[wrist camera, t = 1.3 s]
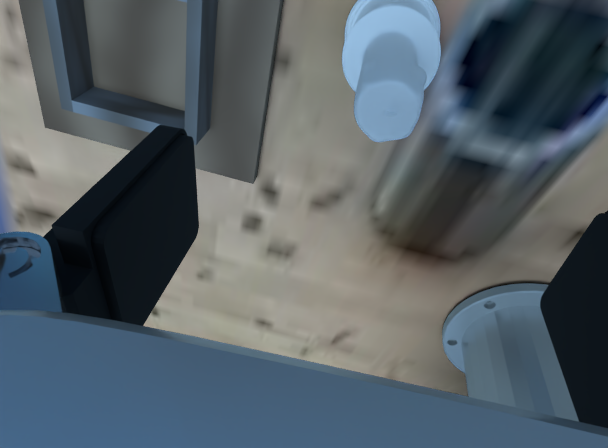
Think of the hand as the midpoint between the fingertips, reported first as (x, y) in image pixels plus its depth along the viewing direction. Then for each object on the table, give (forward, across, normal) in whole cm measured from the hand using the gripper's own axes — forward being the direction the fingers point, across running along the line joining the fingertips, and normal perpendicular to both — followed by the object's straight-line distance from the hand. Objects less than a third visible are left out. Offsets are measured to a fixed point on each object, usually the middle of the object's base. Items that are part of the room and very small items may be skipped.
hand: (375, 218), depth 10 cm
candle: (+18, 0, 0) cm, 18 cm away
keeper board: (+18, +15, +3) cm, 23 cm away
